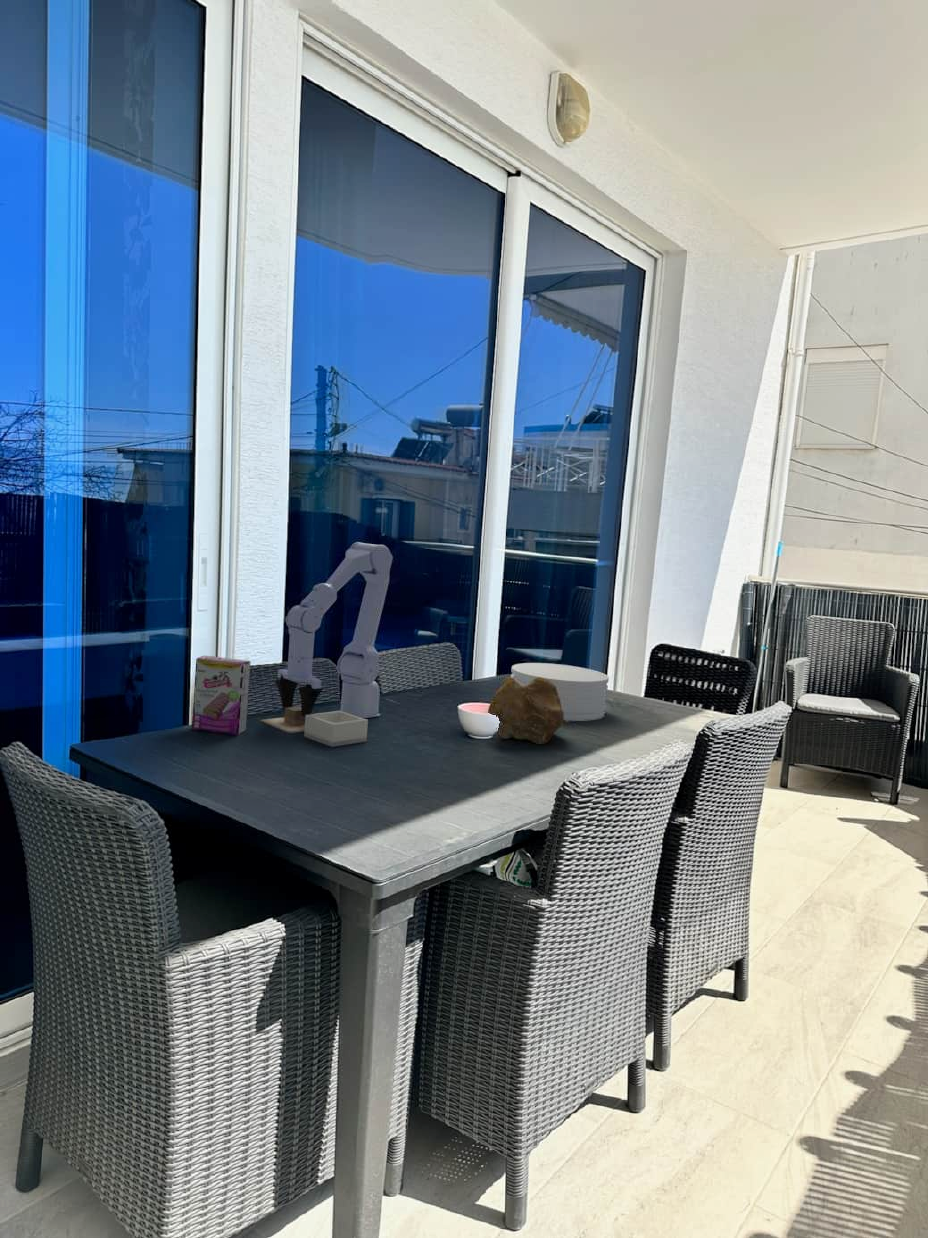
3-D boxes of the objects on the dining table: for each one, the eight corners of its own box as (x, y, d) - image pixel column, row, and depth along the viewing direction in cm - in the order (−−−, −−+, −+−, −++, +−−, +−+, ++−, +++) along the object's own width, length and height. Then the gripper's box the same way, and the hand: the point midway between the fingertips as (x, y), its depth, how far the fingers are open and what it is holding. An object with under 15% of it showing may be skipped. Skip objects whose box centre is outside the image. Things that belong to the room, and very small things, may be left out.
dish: (338, 731, 208) (340, 710, 207) (366, 741, 201) (368, 719, 200) (304, 736, 200) (305, 714, 200) (331, 746, 194) (333, 724, 193)
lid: (301, 719, 219) (302, 701, 219) (331, 729, 211) (332, 711, 210) (260, 724, 210) (261, 705, 210) (289, 735, 202) (290, 716, 202)
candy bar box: (190, 730, 197) (194, 658, 195) (199, 725, 202) (203, 654, 200) (239, 735, 196) (243, 663, 194) (246, 730, 201) (251, 659, 199)
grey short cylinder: (491, 700, 262) (495, 662, 261) (571, 699, 274) (575, 663, 273) (538, 723, 237) (542, 681, 235) (623, 721, 249) (628, 681, 247)
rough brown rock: (530, 756, 204) (542, 694, 202) (474, 734, 214) (485, 675, 212) (581, 745, 222) (592, 688, 220) (527, 726, 232) (538, 671, 230)
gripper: (268, 652, 211) (264, 707, 212) (305, 662, 201) (301, 720, 202) (293, 651, 216) (289, 705, 217) (329, 661, 206) (325, 717, 208)
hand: (296, 712), depth 210 cm, fingers open, 7 cm apart
